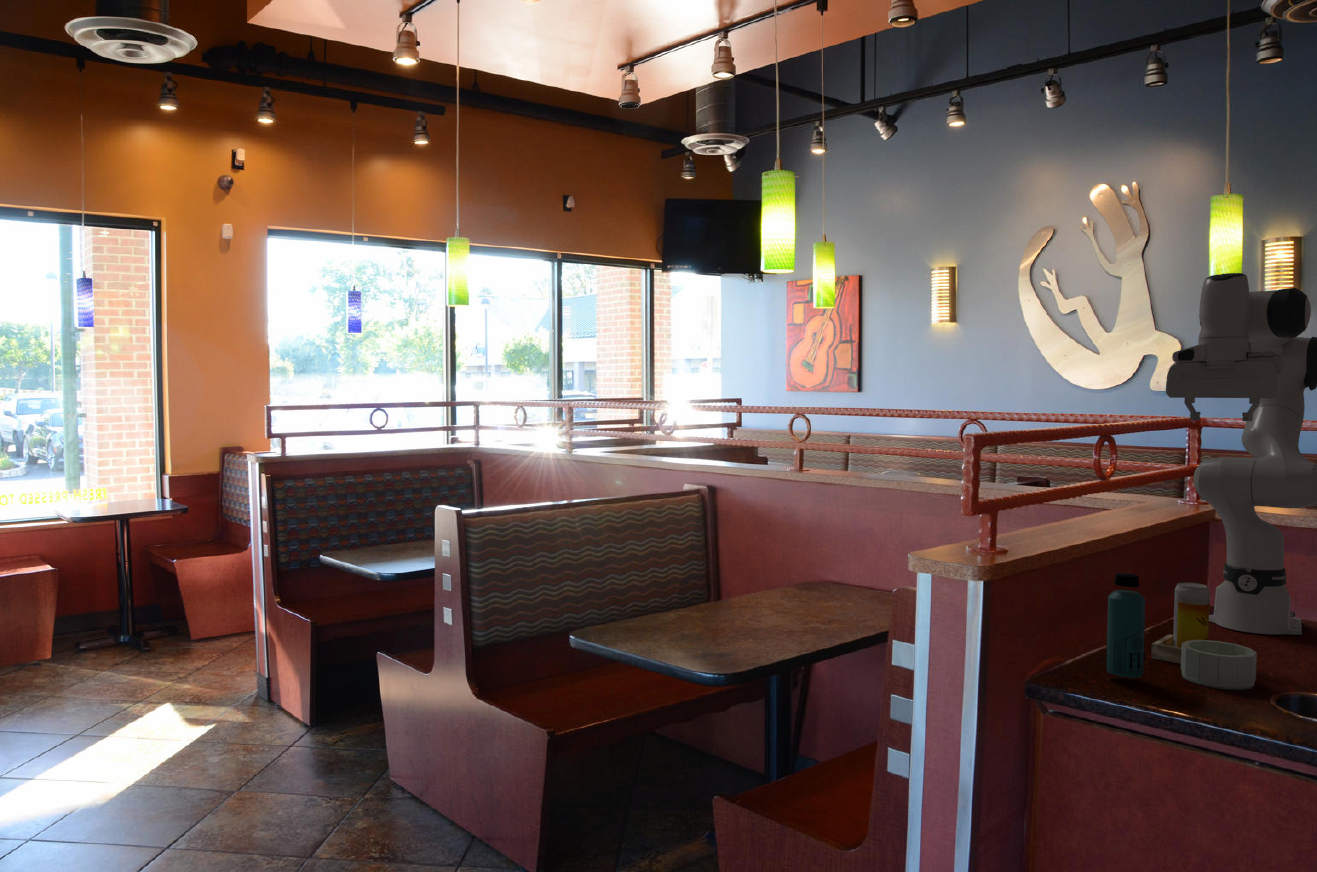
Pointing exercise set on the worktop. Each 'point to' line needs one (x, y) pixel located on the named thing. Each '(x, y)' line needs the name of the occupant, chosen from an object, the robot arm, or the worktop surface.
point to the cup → (1218, 664)
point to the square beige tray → (1166, 650)
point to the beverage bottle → (1126, 629)
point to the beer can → (1190, 613)
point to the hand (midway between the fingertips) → (1220, 420)
